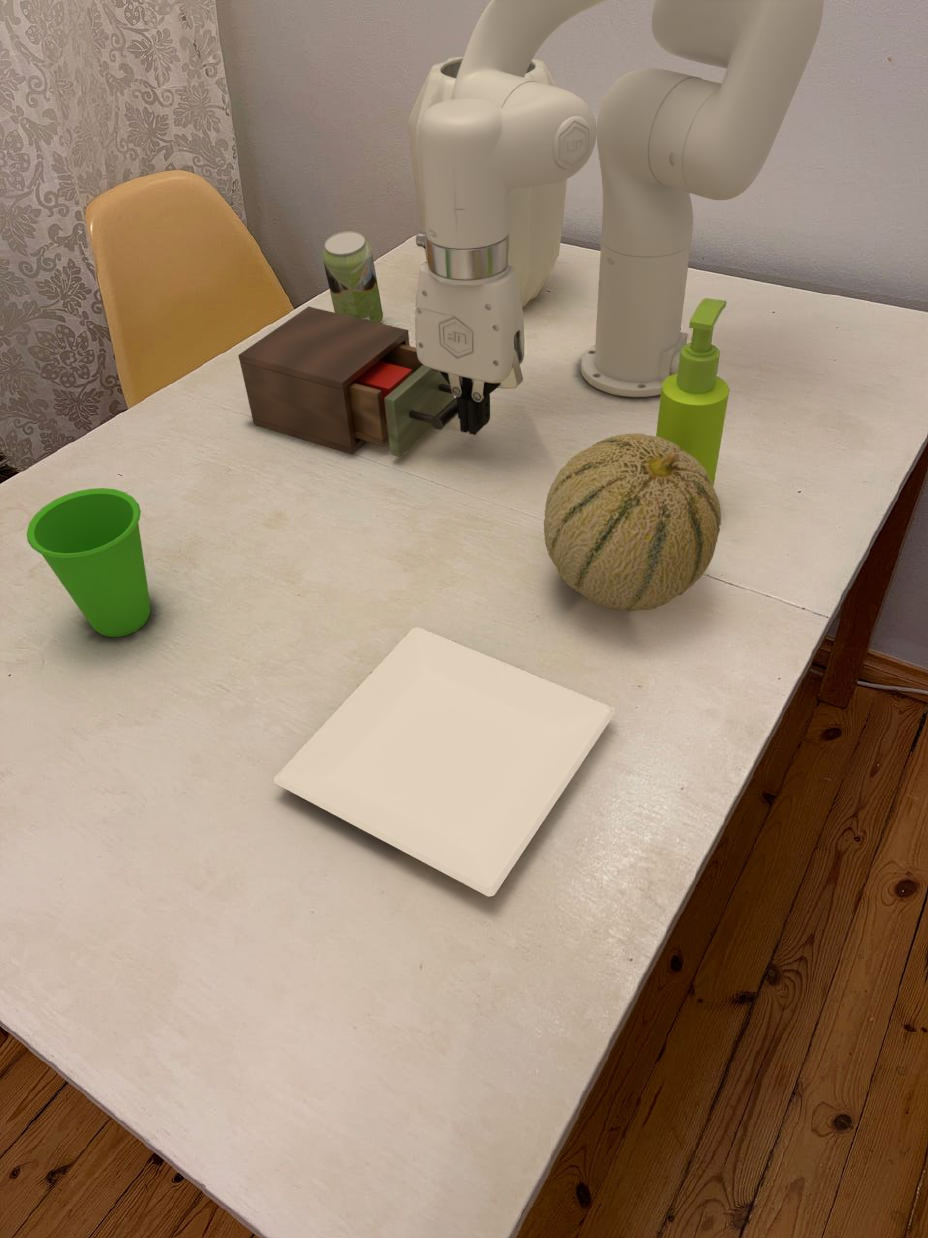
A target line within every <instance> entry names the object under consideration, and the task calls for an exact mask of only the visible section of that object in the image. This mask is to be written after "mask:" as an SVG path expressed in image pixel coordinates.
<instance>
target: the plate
mask: <svg viewBox="0 0 928 1238" xmlns="http://www.w3.org/2000/svg"><path fill="white" fill-rule="evenodd" d="M616 712H617V711H616V708H615V707H613V706H611V705H609V704H606V703H604V702H602V701H599V700H596V699H594V698H592V697H589V696H587V695H584V694H582V693H580V692H577V691H575V690H572V689H570V688H568V687H565V686H563V685H560V684H558V683H555V682H553V681H551V680H548V679H546V678H543V677H541V676H538V675H536V674H534V673H531V672H529V671H526V670H524V669H522V668H519V667H516V666H514V665H511V664H509V663H506V662H504V661H502V660H499V659H497V658H495V657H492V656H490V655H487V654H486V653H483V652H480V651H477V650H475V649H473V648H471V647H468V646H466V645H463V644H462V643H461V644H460V643H458V642H456V641H453V640H451V639H449V638H446V637H443V636H441V635H439V634H437V633H434V632H431V631H429V630H427V629H424V628H422V627H419V626H414V627H412V628H411V629H410V630H409V631H408V633H406V635H405V636H404V637H403V638H402V639H401V640H400V641H399V642H398V644H396V645H395V647H394V648H393V649H392V650H390V652H389V653H388V654H387V655H386V656H385V657H384V658H383V660H381V662H380V663H379V664H378V665H377V666H376V667H375V668H374V669H373V670H372V671H371V672H370V674H369V675H368V676H367V677H366V678H365V679H364V680H363V681H362V682H361V683H360V684H359V686H358V687H357V688H356V689H355V690H354V691H352V693H351V694H350V695H349V696H348V697H347V698H346V700H344V702H343V703H342V704H341V705H340V706H339V707H338V708H337V709H336V710H335V712H333V713H332V715H331V716H330V717H329V718H328V719H327V720H326V721H325V722H324V723H323V724H322V726H321V727H319V729H318V730H316V732H315V733H314V734H313V735H312V736H311V737H310V738H309V740H307V742H305V744H304V745H303V746H302V747H301V748H300V749H299V750H298V751H297V752H296V753H295V755H294V756H293V757H292V758H291V759H290V760H289V761H288V762H287V763H286V764H285V765H284V766H283V768H282V769H281V770H279V772H278V773H277V774H276V775H275V776H274V777H273V780H272V781H273V783H274V784H275V785H278V786H279V787H281V788H283V789H285V790H287V791H289V792H291V793H292V794H294V795H295V796H298V797H300V798H302V799H303V800H306V801H308V802H309V803H311V804H313V805H315V806H316V807H318V808H321V809H322V810H325V812H328V813H330V814H332V815H334V816H336V817H337V818H340V819H341V820H343V821H345V822H347V823H348V824H351V825H353V826H354V827H357V828H358V829H360V830H361V831H364V832H366V833H368V834H370V835H372V836H373V837H374V838H377V839H379V840H381V841H383V842H385V843H387V844H389V845H390V846H392V847H394V848H395V849H397V850H399V851H401V852H403V853H405V854H407V855H409V856H411V857H413V858H415V859H417V860H418V861H420V862H422V863H424V864H426V865H428V866H430V867H431V868H434V869H435V870H437V871H439V872H441V873H443V874H445V875H446V876H449V877H451V878H452V879H454V880H456V881H458V882H459V883H462V884H463V885H465V886H467V887H469V888H471V889H473V890H475V891H477V892H479V893H481V894H483V895H484V896H486V897H488V898H489V897H493V896H495V895H496V894H497V892H498V891H499V889H500V888H501V886H502V884H503V883H504V881H505V880H506V878H507V877H508V875H510V872H511V871H512V869H513V868H514V866H515V865H516V864H517V862H518V860H519V859H520V857H521V856H522V855H523V853H524V851H525V850H526V848H527V847H528V845H529V844H530V842H531V840H532V839H533V837H534V836H535V835H536V833H537V831H538V830H539V829H540V827H541V825H542V824H543V822H544V821H545V819H546V818H547V817H548V815H549V813H550V812H551V811H552V809H553V807H554V806H555V804H556V803H557V801H558V800H559V798H560V797H561V795H562V794H563V792H564V790H565V789H566V788H567V787H568V785H569V783H570V782H571V780H572V779H573V777H574V776H575V774H576V773H577V771H578V770H579V768H580V767H581V765H582V763H583V762H584V760H585V759H586V758H587V756H588V754H589V753H590V752H591V750H592V749H593V747H594V746H595V744H596V742H597V741H598V740H599V738H600V737H601V735H602V734H603V732H604V731H605V729H606V728H607V726H608V724H609V723H610V722H611V720H612V718H613V717H614V715H615V713H616Z"/></svg>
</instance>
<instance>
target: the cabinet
mask: <svg viewBox="0 0 928 1238" xmlns="http://www.w3.org/2000/svg"><path fill="white" fill-rule="evenodd" d="M399 344H403V345H407V346H411V344H410V334H409V329H406V328H401V327H398V326H394V325H389V324H385V323H382V322H381V323H376V322H372V321H368V320H364V319H359V318H355V317H351V316H347V315H342V314H338V313H335V312H333V311H329V310H325V309H321V308H316V307H314V306H313V307H312V306H307V307H306V308H304V309H303V310H301V311H300V312H298V313H297V314H295V315H294V316H293V317H291V318H290V319H288V320H287V321H285V322H284V323H282V324H281V325H280V326H278V327H277V328H275V329H274V330H272V331H270V332H269V333H268V334H267V335H265V336H263V337H262V338H261V339H259V340H258V341H256V342H255V343H253V344H252V345H250V346H249V347H248V348H246V349H245V350H243V351H242V352H241V353H239V354H238V355H237V356H238V360H239V364H240V368H241V373H242V378H243V382H244V387H245V392H246V396H247V401H248V405H249V409H250V414H251V418H252V422H253V425H255V426H258V427H262V428H265V429H267V430H271V431H274V432H278V433H281V434H285V435H288V436H291V437H295V438H298V439H301V440H304V441H308V442H311V443H314V444H318V445H321V446H324V447H328V448H331V449H334V450H338V451H341V452H344V453H347V454H350V455H353V454H354V453H355V452H357V451H358V450H359V449H360V448H362V447H363V445H365V444H366V443H367V442H368V441H364V440H361V439H358V438H355V437H354V430H353V423H352V416H351V409H350V402H349V395H348V388H347V386H348V385H350V384H351V383H352V382H353V381H355V380H356V379H357V378H358V377H360V376H361V375H362V374H363V373H364V372H366V371H367V370H368V369H369V368H371V367H372V366H373V365H374V364H376V363H377V362H378V361H379V360H380V359H382V358H383V357H384V356H385V355H387V354H388V353H389V352H390V351H392V350H393V349H394V348H395V347H397V346H398V345H399Z"/></svg>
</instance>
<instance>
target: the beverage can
mask: <svg viewBox="0 0 928 1238" xmlns="http://www.w3.org/2000/svg"><path fill="white" fill-rule="evenodd" d="M322 261H323V266H324V271H325V275H326V280H327V284H328V289H329V293H330V297H331V303H332V307H333V311H334V313H338V314H342V315H347V316H351V317H355V318H359V319H364V320H368V321H372V322H376V323H381V324H382V321H383V319H384V312H383V306H382V300H381V296H380V290H379V285H378V278H377V272H376V268H375V267H376V266H375V262H374V255H373V250H372V246H371V245H370V243H369V242H368V241H367V240H366V238H365V236H364V234H361V233H360V232H358V231H351V230H349V231H347V230H346V231H340V232H337V233H334V234H332V235H331V236H329V237H328V238H327V239H326V240H325V242H324V249H323V250H322Z"/></svg>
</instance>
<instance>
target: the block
mask: <svg viewBox="0 0 928 1238" xmlns="http://www.w3.org/2000/svg"><path fill="white" fill-rule="evenodd" d="M411 375H412V369H408V368H404V367H400V366H396V365H392V364H388V363H385V362H381V361H378V362H377V363H376V364H374V365H373V366H372V367H371V368H369V369H368V370H367V371H366V372H364V373H363V374H362V375H361V376H360V377H358V378H357V379H356V380H355V381H354V382H355V384H359V385H363V386H366V387H370V388H374V389H377V390H381V393H382V402H383V411H384V419H385V424H387V419H386V411H385V402H384V398H385V397H386V396H387V395H389V394H390V393H391V392H392V391H393V390H394V389H396V388H397V387H398V386H399V385H400V384H401V383H403V382H404V381H405V380H406V379H407V378H408V377H410V376H411Z"/></svg>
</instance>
